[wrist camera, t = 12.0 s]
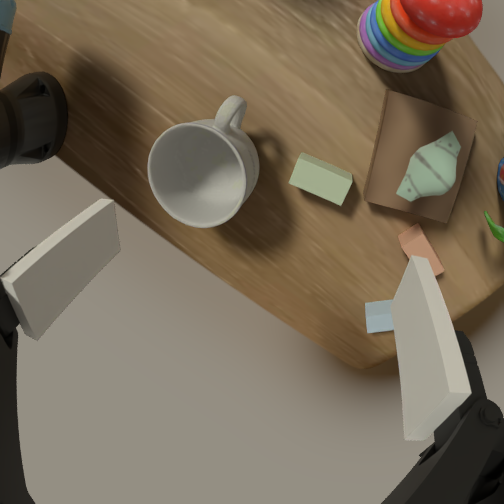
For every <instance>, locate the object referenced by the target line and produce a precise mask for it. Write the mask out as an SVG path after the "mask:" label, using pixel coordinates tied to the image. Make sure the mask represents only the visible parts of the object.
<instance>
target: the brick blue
mask: <svg viewBox="0 0 504 504" xmlns="http://www.w3.org/2000/svg"><path fill="white" fill-rule="evenodd" d="M392 301H393V300H385V301H377V302H369V303H365V310H366V324H367V333H373V332H381V331H389V330H394V326H393V320H392V314H391V308H390V306H391V304H392Z"/></svg>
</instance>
